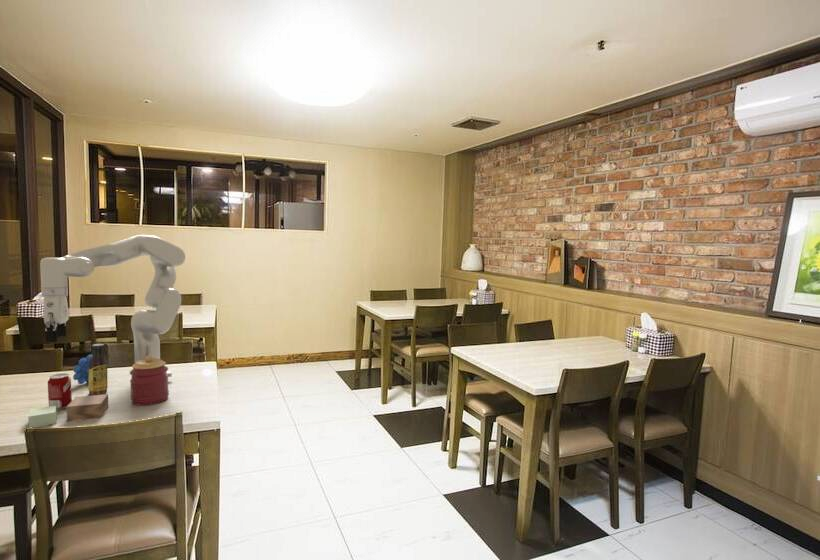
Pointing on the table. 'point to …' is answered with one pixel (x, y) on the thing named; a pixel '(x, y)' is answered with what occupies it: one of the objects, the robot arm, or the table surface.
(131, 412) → the table surface
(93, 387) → the sauce bottle
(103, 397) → the walnut block
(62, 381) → the soda can
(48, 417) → the green block
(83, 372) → the grapes
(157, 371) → the canister
